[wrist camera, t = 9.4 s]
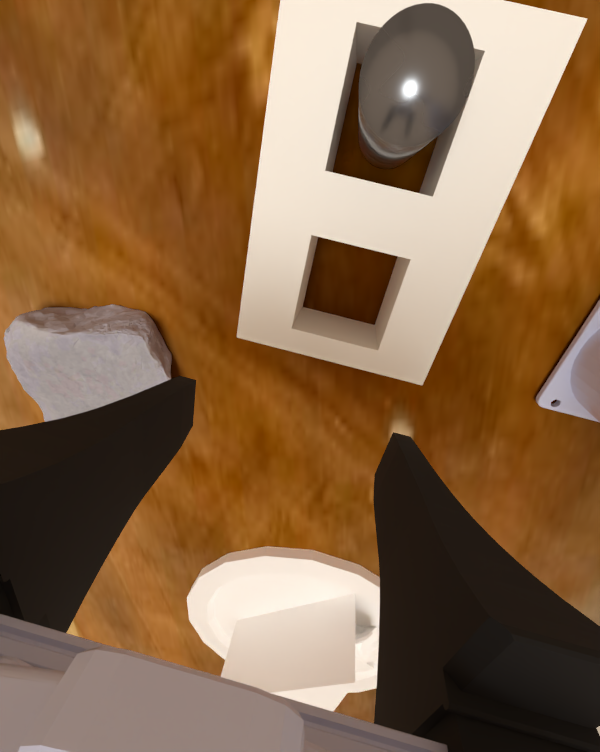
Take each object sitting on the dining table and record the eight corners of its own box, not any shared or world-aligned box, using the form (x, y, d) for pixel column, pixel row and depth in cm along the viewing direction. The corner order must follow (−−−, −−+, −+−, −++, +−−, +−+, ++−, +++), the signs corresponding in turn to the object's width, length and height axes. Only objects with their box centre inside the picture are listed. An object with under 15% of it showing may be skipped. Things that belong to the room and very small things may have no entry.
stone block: (172, 296, 24) (25, 301, 24) (149, 319, 20) (-30, 326, 19) (200, 430, 30) (83, 436, 29) (187, 470, 25) (50, 478, 25)
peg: (433, 102, 16) (497, 20, 8) (407, 176, 17) (443, 159, 10) (370, 84, 16) (381, -13, 9) (350, 159, 17) (344, 130, 10)
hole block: (531, 63, 14) (587, 18, 11) (411, 354, 21) (422, 385, 18) (303, 11, 15) (286, -48, 11) (256, 314, 21) (236, 337, 18)
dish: (324, 698, 45) (314, 840, 35) (157, 610, 41) (93, 742, 31) (474, 633, 34) (524, 814, 24) (266, 503, 30) (220, 655, 20)
